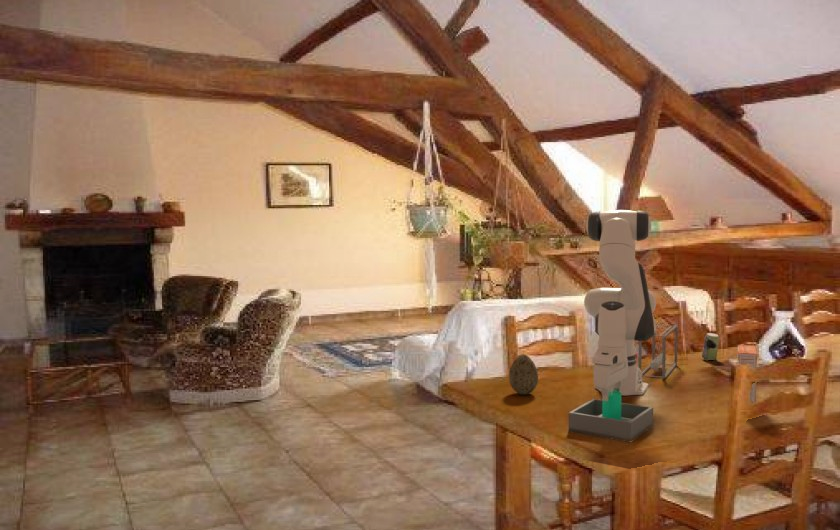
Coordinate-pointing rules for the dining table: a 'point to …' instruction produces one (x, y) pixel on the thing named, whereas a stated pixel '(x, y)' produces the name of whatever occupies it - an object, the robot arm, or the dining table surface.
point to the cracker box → (749, 357)
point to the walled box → (611, 421)
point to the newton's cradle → (661, 357)
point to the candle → (612, 406)
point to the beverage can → (710, 346)
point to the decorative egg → (523, 375)
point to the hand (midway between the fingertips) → (611, 397)
